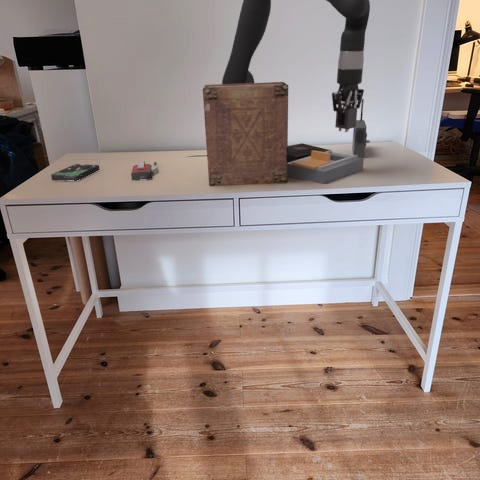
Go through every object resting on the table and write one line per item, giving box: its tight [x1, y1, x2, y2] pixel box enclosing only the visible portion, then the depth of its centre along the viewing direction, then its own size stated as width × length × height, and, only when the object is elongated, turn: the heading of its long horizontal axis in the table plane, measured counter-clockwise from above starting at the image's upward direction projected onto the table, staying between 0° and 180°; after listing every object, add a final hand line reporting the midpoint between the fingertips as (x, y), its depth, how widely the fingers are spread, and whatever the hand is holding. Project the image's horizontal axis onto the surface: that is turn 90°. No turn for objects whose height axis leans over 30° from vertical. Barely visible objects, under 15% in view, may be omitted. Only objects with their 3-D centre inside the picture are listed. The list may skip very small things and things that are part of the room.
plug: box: [334, 104, 358, 133], centre depth 141 cm, size 5×5×8 cm
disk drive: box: [50, 163, 100, 181], centre depth 158 cm, size 10×3×15 cm
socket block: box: [287, 149, 364, 185], centre depth 150 cm, size 16×22×5 cm
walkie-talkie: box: [130, 161, 159, 181], centre depth 157 cm, size 9×4×20 cm
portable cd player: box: [287, 143, 332, 163], centre depth 168 cm, size 16×17×4 cm
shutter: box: [293, 150, 331, 170], centre depth 144 cm, size 9×10×3 cm
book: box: [202, 81, 289, 187], centre depth 139 cm, size 25×9×30 cm, turn 91°
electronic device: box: [351, 98, 371, 158], centre depth 170 cm, size 17×7×20 cm, turn 169°
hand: (345, 123), depth 142 cm, fingers closed on plug, 4 cm apart
